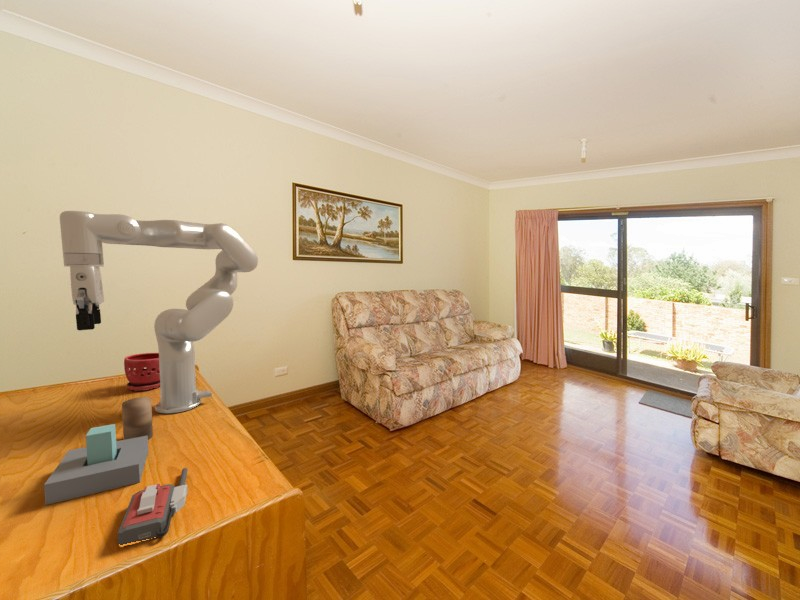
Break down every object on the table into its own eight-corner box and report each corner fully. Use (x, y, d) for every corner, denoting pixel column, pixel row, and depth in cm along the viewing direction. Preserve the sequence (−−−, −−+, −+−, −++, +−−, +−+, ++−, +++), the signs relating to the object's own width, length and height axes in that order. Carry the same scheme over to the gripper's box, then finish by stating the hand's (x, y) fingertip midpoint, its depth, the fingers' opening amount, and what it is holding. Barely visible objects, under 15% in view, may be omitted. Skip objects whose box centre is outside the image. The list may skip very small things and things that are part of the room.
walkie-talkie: (180, 537, 56) (191, 473, 74) (179, 512, 56) (190, 454, 73) (113, 557, 52) (141, 484, 70) (111, 530, 52) (140, 464, 69)
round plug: (154, 431, 92) (152, 395, 91) (151, 440, 87) (149, 403, 86) (126, 436, 89) (124, 399, 88) (121, 446, 84) (119, 407, 83)
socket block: (148, 451, 82) (147, 435, 82) (139, 482, 70) (138, 463, 70) (70, 467, 75) (69, 450, 74) (45, 505, 63) (44, 484, 62)
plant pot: (145, 394, 119) (143, 361, 118) (116, 391, 122) (114, 358, 121) (177, 383, 132) (176, 352, 131) (150, 380, 135) (149, 350, 134)
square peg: (117, 467, 75) (115, 423, 74) (113, 476, 72) (111, 431, 71) (93, 472, 73) (91, 427, 72) (88, 482, 70) (85, 435, 69)
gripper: (97, 260, 82) (103, 330, 83) (108, 261, 96) (113, 321, 97) (54, 260, 77) (61, 333, 79) (72, 261, 92) (77, 323, 93)
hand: (89, 326), depth 88 cm, fingers open, 9 cm apart
